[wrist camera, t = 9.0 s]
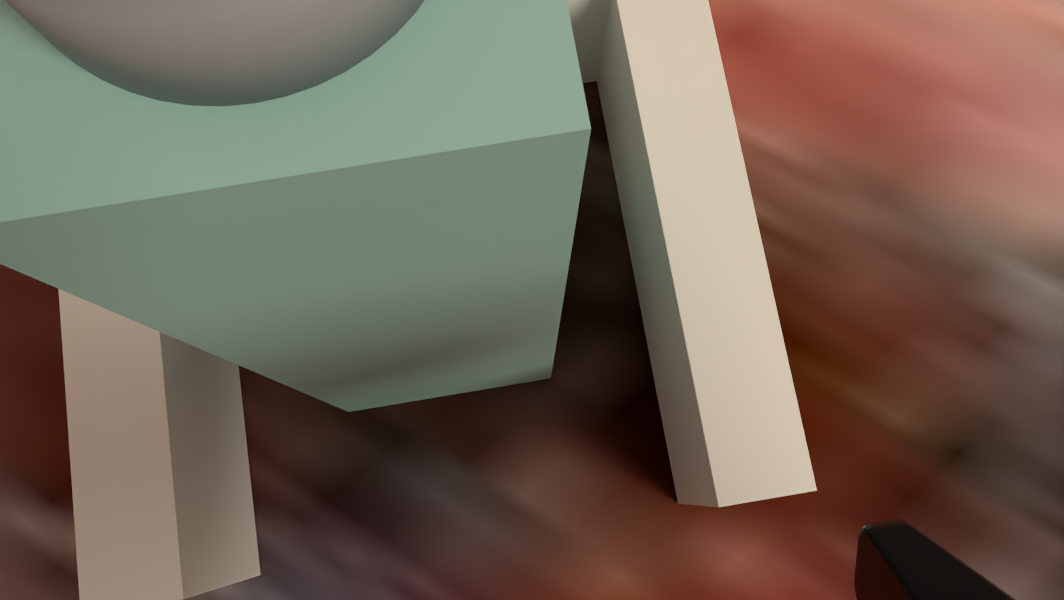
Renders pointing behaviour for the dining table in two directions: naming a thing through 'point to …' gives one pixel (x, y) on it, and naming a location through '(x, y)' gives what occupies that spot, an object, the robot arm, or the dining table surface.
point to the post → (304, 181)
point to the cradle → (664, 296)
